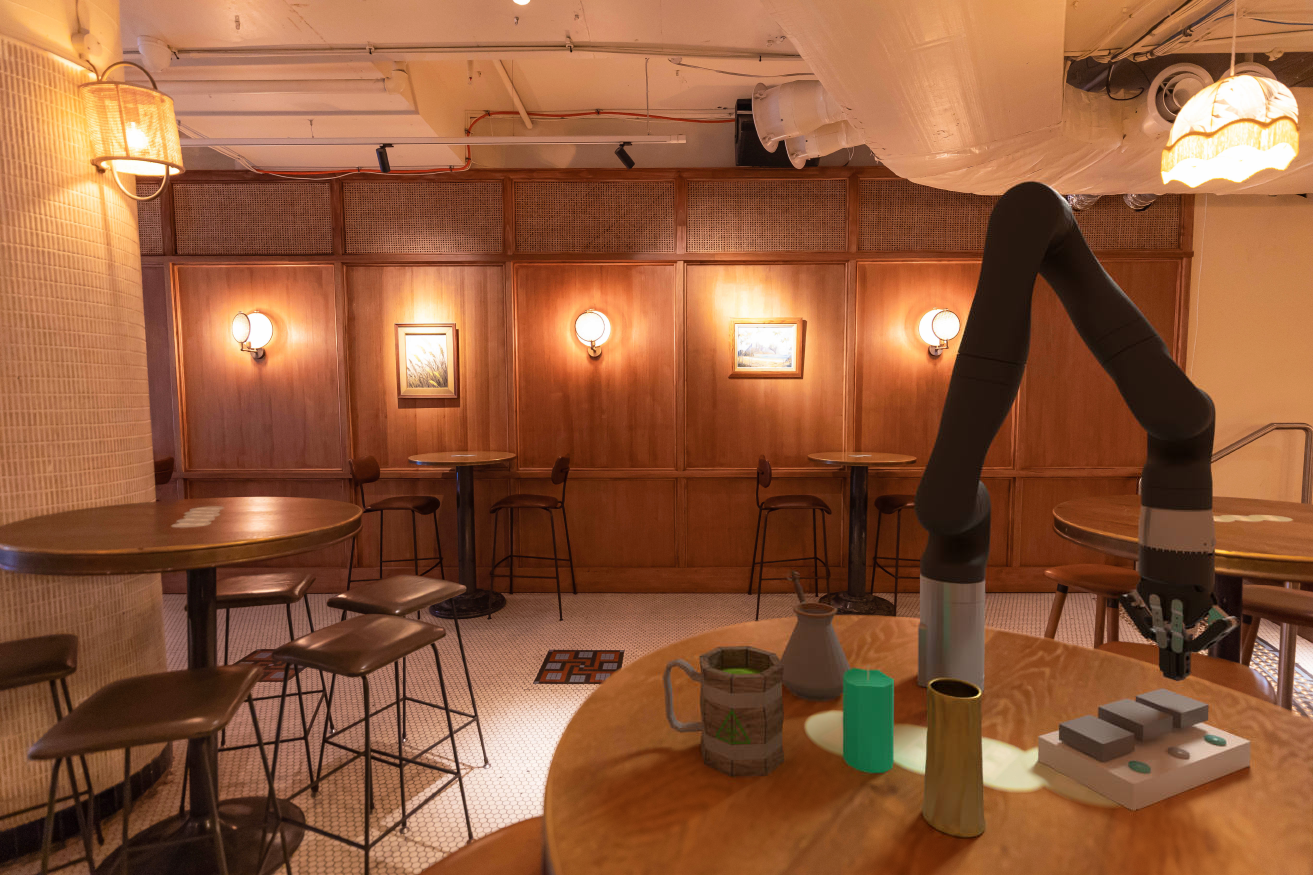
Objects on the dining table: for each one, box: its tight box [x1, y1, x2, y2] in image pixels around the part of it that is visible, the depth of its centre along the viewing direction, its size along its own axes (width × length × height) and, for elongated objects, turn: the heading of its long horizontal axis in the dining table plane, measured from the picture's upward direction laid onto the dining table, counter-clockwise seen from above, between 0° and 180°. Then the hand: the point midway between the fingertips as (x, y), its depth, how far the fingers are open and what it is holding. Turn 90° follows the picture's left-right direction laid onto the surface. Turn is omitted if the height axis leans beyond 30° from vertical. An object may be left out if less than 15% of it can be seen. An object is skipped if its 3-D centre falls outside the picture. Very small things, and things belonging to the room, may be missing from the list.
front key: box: [1058, 714, 1135, 761], centre depth 76 cm, size 6×5×2 cm
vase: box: [921, 678, 986, 838], centre depth 68 cm, size 6×6×14 cm
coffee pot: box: [779, 570, 852, 702], centre depth 104 cm, size 21×12×15 cm, turn 0°
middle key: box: [1097, 697, 1173, 742], centre depth 79 cm, size 6×5×2 cm
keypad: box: [1037, 722, 1252, 811], centre depth 78 cm, size 22×11×3 cm, turn 113°
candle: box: [842, 664, 895, 774], centre depth 80 cm, size 6×6×12 cm
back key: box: [1134, 687, 1209, 729], centre depth 82 cm, size 6×5×2 cm
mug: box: [662, 645, 785, 778], centre depth 82 cm, size 16×11×12 cm
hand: (1174, 678), depth 82 cm, fingers closed
